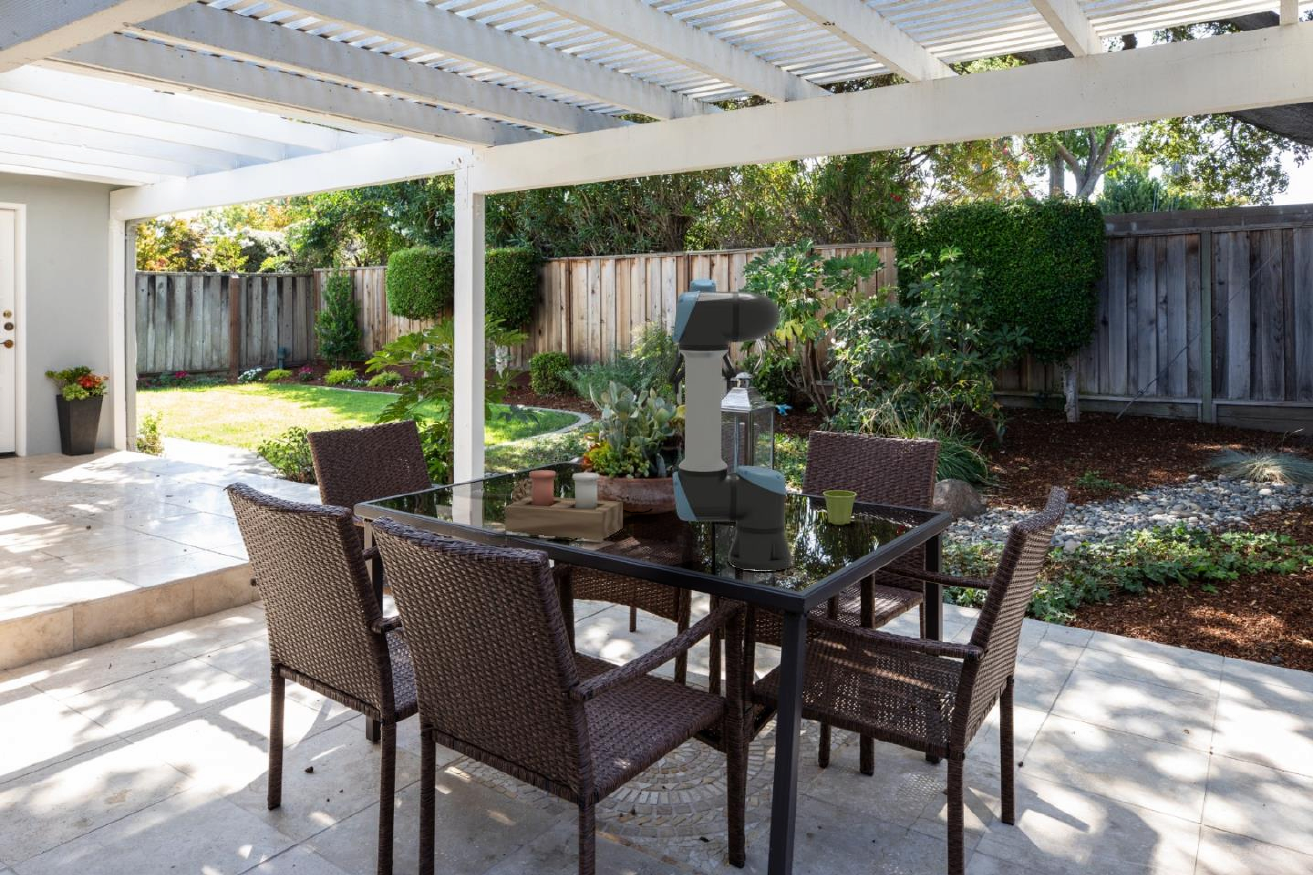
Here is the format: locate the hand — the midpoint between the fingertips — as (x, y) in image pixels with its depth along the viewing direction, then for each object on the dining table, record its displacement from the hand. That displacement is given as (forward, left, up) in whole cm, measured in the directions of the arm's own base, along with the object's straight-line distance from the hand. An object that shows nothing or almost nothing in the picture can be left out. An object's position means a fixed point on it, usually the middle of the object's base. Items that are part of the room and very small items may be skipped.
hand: (701, 401), depth 274 cm
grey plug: (-36, +22, -28) cm, 51 cm away
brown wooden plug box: (-36, +29, -34) cm, 57 cm away
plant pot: (0, -41, -34) cm, 54 cm away
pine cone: (-16, +50, -34) cm, 63 cm away
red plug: (-36, +35, -28) cm, 58 cm away
